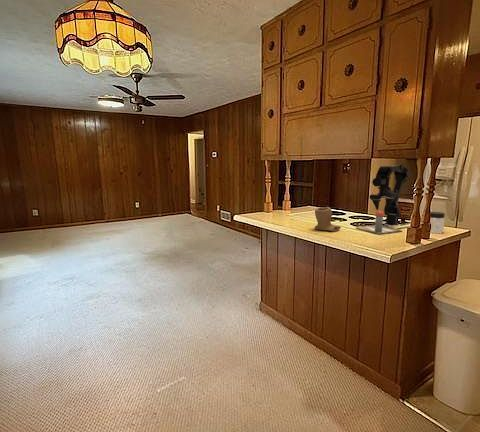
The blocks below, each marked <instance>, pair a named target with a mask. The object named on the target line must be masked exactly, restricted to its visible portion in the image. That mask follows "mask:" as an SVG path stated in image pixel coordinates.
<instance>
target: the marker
mask: <svg viewBox="0 0 480 432" xmlns="http://www.w3.org/2000/svg"><path fill="white" fill-rule="evenodd" d="M384 216H385V213H384V210H383V211H382V210H376V211H375V223H374V225H375V232H382V225H383V223H384Z"/></svg>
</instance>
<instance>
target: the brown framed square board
mask: <svg viewBox="0 0 480 432" xmlns="http://www.w3.org/2000/svg"><path fill="white" fill-rule="evenodd" d="M355 230H359V231H363V232H366V233H371V234H374V235H378V236H383V235H389V234H398V233H402V232H403V230H401V229H396V228H395V227H394V226H391V225H390V226H389V225H387V224H386V225H385V224H384V225H382V232H375V224H373V225H365V226H356V227H355Z"/></svg>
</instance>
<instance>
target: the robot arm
mask: <svg viewBox="0 0 480 432" xmlns="http://www.w3.org/2000/svg"><path fill="white" fill-rule="evenodd" d="M392 174H393V175H394V179H395V185H394V187H393V190H392V188H391V187H390V181H391V180H390V179H391V178H392V177H391V176H392ZM410 176H411V173H410V171H409V169H408V168H407V167H405V165H404V164H402V163H396V164H393V165H390V166H389V165H388V166H387V165H381V166H379V168H378V170H377V172H376V175H375V177H374V178H373V179H372V181H371V183H372V185H373V186H374V187H377V190H378V192H377V194H375V193H374V194H372V193H371V194H370V195H369V199H370V200H371V201H372V203H373V205H374V207H375V210H376V211H379V208H380V207H379V206H380V202H381V200H382V198H383V199H384V198H385V205H384V208H383V211H384V216H386V222H384V225H385V224H386V225H388V226H389V225H390V226H398V225H399V223H398V217H400V216H401V211H400V205H399V201H400V197H401V193H402V190H403V187H404V184H405V183H406V182H407V181H408V179H409V178H410Z"/></svg>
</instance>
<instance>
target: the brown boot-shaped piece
mask: <svg viewBox="0 0 480 432" xmlns="http://www.w3.org/2000/svg"><path fill="white" fill-rule="evenodd" d="M332 210H333V209H332V208H331V207H329V206H326V207H323V206H322V207H317V208H315V210H314V217H315V219H316V222H317V225H315V226H314V229H315V230H321V231H326V232H327V231H328V232H337V231H339V230H340V229H341V228H342V227H341V226H340V225H335V224H332V223H331V222H332V216H333V211H332Z"/></svg>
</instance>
